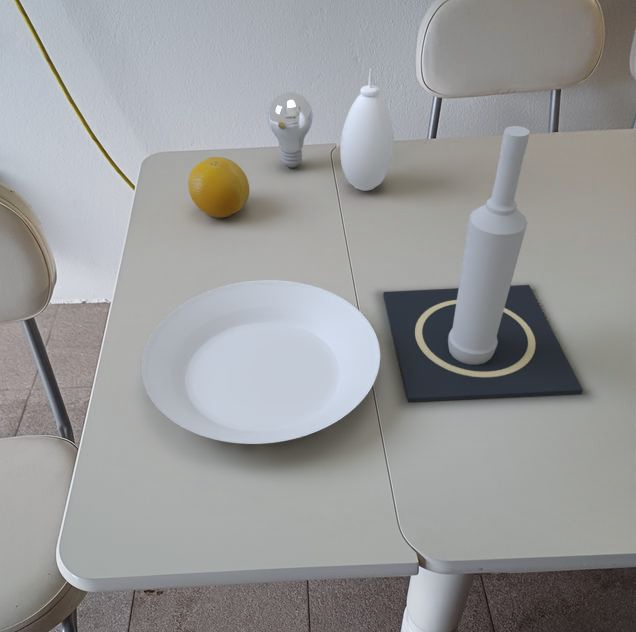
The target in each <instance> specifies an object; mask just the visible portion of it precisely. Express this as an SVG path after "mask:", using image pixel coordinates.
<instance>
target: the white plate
mask: <svg viewBox="0 0 636 632" xmlns="http://www.w3.org/2000/svg"><path fill="white" fill-rule="evenodd" d="M146 341H147V342H146V344H145V346H144V348H143V352H142V356H141V368H140V369H141V379H142V382H143V386H144V388H145V391H146V393H147V396H149V398H150V400H151V402H152V403H153V404H154V406H155V407H156V408H157V409H158V410H159V411H160V413H162V414H163V415H164V416H165V417H167V418H168V419H169V420H170V421H171V422H173V423H175V424H176V425H178V426H179V427H181V428H183V429H185V430H187V431H189V432H191V433H194V434H196V435H198V436H201V437H204V438H208V439H211V440H215V441H219V442H226V443H231V444H232V443H233V444H242V445H243V444H245V445H249V444H250V445H262V444H273V443H274V444H275V443H280V442H286V441H291V440H295V439H299V438H303V437H305V436H308V435H311V434H313V433H316V432H319V431H321V430H324V429H326V428H327V427H329V426H331V425H333V424H335V423H336V422H338V421H340V420H342V419H343V418H344V417H346V416H347V415H348V414H349V413H351V412H352V411H353V410H354V409H355V408H357V407H358V406H359V405H360V404H361V402H363V400H364V399H365V398H366V397H367V396H368V393H369V392H370V390H371V389H372V387H373V385H374V384H375V382H376V379H377V376H378V374H379V370H380V363H381V350H380V349H381V348H380V343H379V340H378V337H377V334H376V331H375V330H374V328H373V326H372V324H371V323H370V321H369V320H368V319H367V318H366V317H365V316H364V314H363V313H362V312H361V311H360V310H359V309H358V308H357V307H355V306H354V305H353V304H351V302H349V301H347V300H346V299H344V298H343V297H341V296H339V295H337V294H335V293H333V292H331V291H328V290H326V289H324V288H322V287H318V286H314V285H311V284H306V283H302V282H297V281H290V280H281V279H280V280H279V279H259V280H247V281H240V282H234V283H230V284H226V285H222V286H218V287H216V288H213V289H209V290H207V291H205V292H201V293H200V294H198V295H196V296H194V297H192V298H190V299H188V300H186V301H185V302H182V303H181V304H180V305H178V306H177V307H176V308H174V309H173V310H172V311H170V312H169V313H168V314H167V315H166V316H164V318H163V319H162V320H161V321H160V322H159V323H158V324H157V326H156V327H155V328H154V329H153V331H152V332H151V334H150V336H149V337H148V340H146Z"/></svg>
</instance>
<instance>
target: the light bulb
mask: <svg viewBox="0 0 636 632" xmlns="http://www.w3.org/2000/svg"><path fill="white" fill-rule="evenodd" d="M313 117H314V116H313V109H312V107H311V105H310V103H309V101H308V100H307V98H305V97H304V96H302V95H301V94H299V93H296V92H290V91H289V92H283V93H282V94H280V95H278V96H277V97H276V98H274V100H273V101H272V103H271V104H270V106H269V109H268V112H267V120H268V121H267V122H268V125H269V128H270V130H271V131H272V133H273V134H274V136H275V138H276V139H277V141H278V146H279V148H280V150H281V152H280V153H281V155H280V156H281V162H282V163H283V164H284V165H285V166H286V167H287V168H288V169H296V168H297V167H298V166H299V165H300V164H301V162H302V161H303V151H302V149H303V147H304V142H305V140H306V139H305V138H306V136H307V135H308V133H309V131H310V130H311V127H312V125H313V120H314V119H313Z"/></svg>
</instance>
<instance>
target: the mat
mask: <svg viewBox="0 0 636 632" xmlns="http://www.w3.org/2000/svg"><path fill="white" fill-rule="evenodd" d="M458 290H459V287H456V288H454V287H453V288H433V289H432V288H431V289H417V290H416V289H415V290H413V289H412V290H394V291H391V290H390V291H383V293H382V296H383V301H384V305H385V309H386V313H387V318H388V322H389V327H390V330H391V335H392V340H393V343H394V349H395V352H396V353H395V354H396V358H397V361H398V366H399V370H400V375H401V378H402V383H403V388H404V392H405V396H406V401H407V403H414V402H415V403H416V402H417V403H418V402H435V401H459V400H474V399H475V400H479V399H496V398H497V399H498V398H501V399H502V398H519V397H520V398H521V397H538V396H539V397H541V396H562V395H580V394H582V393H583V390H584V389H583V388H582V385H581V384H580V383H581V382H579V379H578V378H577V376H576V374H575V372H574V370H573V368H572V366H571V364H570V362H569V361H568V358H567V356H566V354H565V351H564V350H563V348H562V346H561V345H560V343H559V339H557V337H556V334H555V332H554V331H553V329H552V327H551V325H550V323H549V320H548V319H547V317H546V315H545V313H544V311H543V309H542V307H541V305H540V303H539V301H538V299H537V297H536V295H535V294H534V291H533V289H532V287H531V286H530V284H517V285H510V289H509V292H508V296H507V300H506V303H505V307H504V311H503V314H502V318H501V322H500V325H499V329H498V333H497V341H498V343H497V347H496V349H495V352H494V354H493V356H492V358H491V359H490V360H488V361H487V362H485V363H482V364H478V365H471V364H466V363H462V362H460V361H458V360H457V359H455V358H454V357H453V356H452V355H451V353H450V352H449V345H448V337H449V333H450V331H451V329H452V328H453V322H454V316H455V309H456V303H457V296H458Z"/></svg>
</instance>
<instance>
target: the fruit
mask: <svg viewBox="0 0 636 632" xmlns="http://www.w3.org/2000/svg"><path fill="white" fill-rule="evenodd" d="M187 184H188V185H187V186H188V192H189V195H190V198H191V200H192V202H193V204H195V206H196V207H197V208H198V209H199V210H200V211H201V212H203V213H205V214H206V215H208V216H211V217H213V218H218V219H219V218H220V219H223V218H227V217H231V216H232V215H234V214H236V213H238V212H240V211H241V210H242V209H243V208H244V207H245V205H246V203H247V202H248V199H249V196H250V183H249V180H248V177H247V175H246V174H245V172H244V170H243V169H242V168H241V166H239V165H238V164H237V163H236V162H234V161H233V160H231V159H229V158H226V157H223V156H211V157H208V158H205V159H203V160H201V161H200V162H198V163H197V164H196V165H195V166H194V167H193V169H192V170H191V172H190V174H189V176H188V183H187Z"/></svg>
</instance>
